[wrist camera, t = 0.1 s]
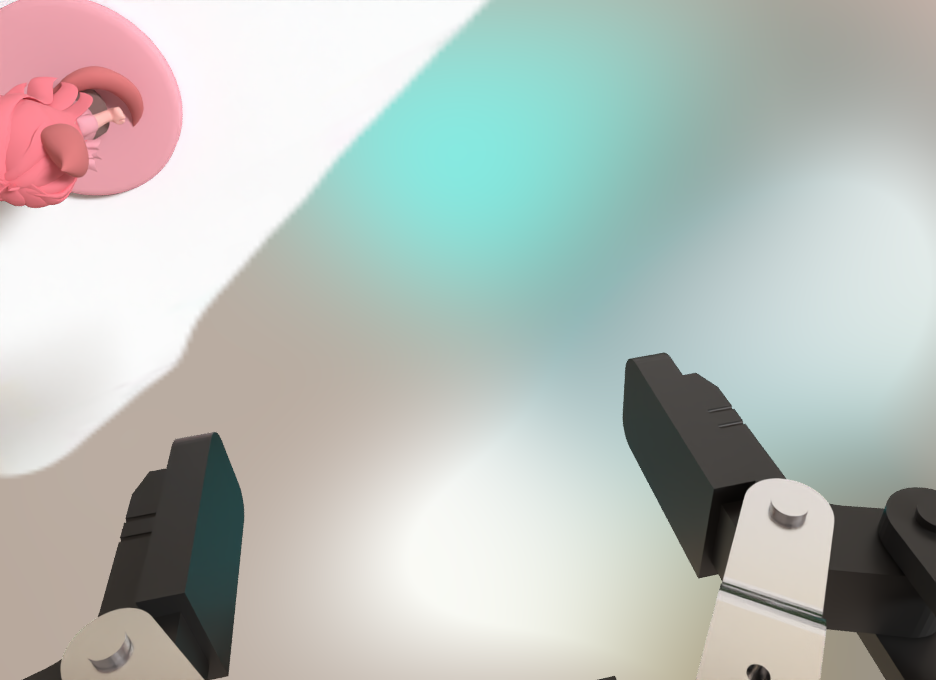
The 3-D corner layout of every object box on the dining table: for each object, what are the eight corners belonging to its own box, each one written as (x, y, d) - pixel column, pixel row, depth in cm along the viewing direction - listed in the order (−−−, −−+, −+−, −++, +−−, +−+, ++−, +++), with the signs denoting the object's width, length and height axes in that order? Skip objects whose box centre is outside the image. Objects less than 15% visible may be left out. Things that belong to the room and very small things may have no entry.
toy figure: (24, 200, 39) (-73, 319, 29) (-68, 6, 33) (-226, 73, 23) (206, 174, 40) (171, 281, 30) (147, -18, 34) (81, 37, 24)
